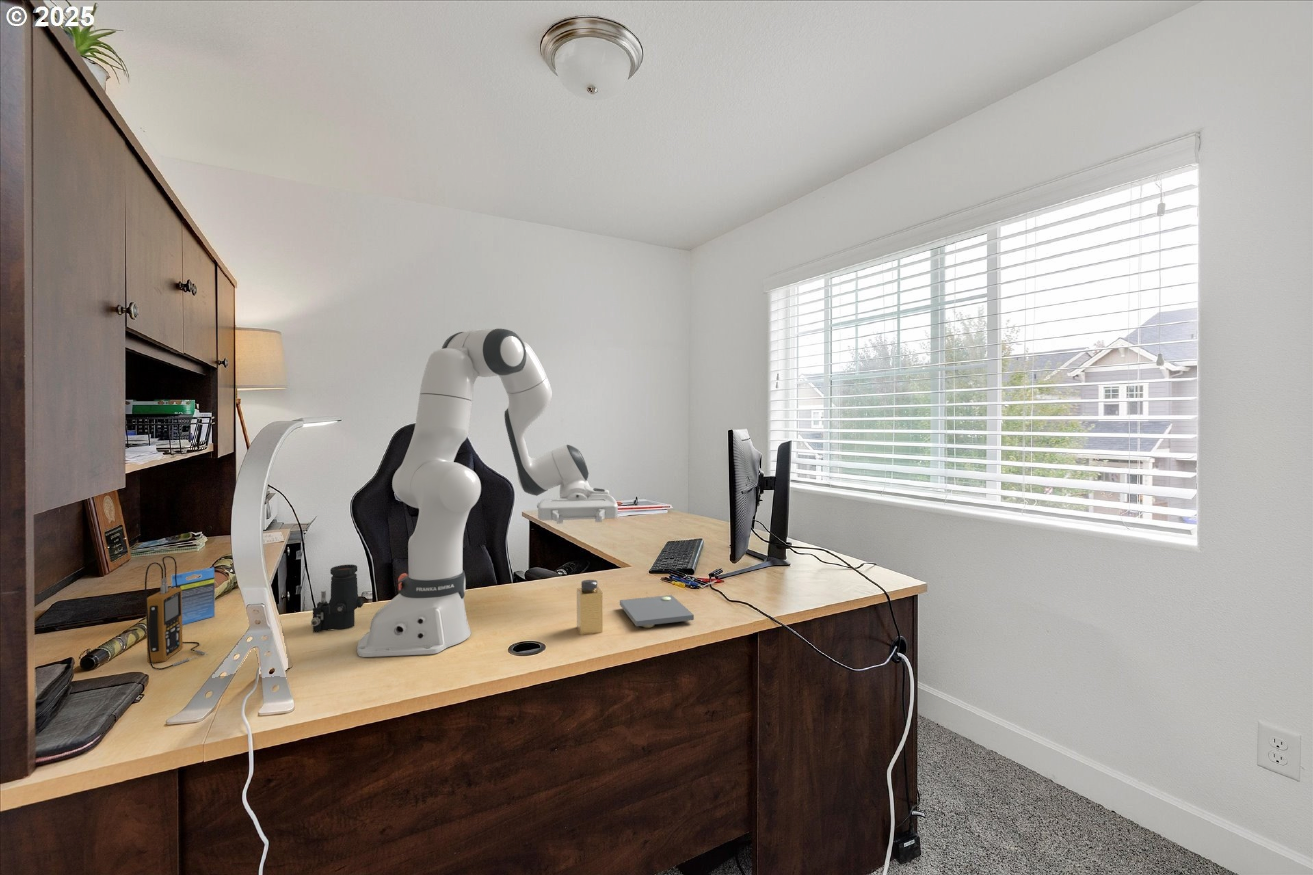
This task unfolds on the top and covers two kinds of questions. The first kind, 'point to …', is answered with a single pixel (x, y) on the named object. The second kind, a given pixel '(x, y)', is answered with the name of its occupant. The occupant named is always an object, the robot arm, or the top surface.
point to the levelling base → (655, 610)
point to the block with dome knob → (589, 608)
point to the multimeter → (164, 621)
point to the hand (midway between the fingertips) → (579, 519)
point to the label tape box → (196, 594)
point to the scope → (338, 601)
